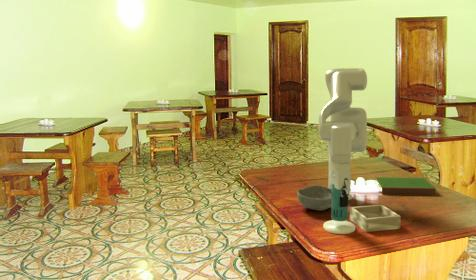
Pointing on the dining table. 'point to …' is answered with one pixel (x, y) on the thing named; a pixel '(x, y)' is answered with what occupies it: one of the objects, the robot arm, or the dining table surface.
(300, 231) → the dining table surface
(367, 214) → the wooden frame
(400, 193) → the hardcover book
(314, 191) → the bowl
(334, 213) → the beverage bottle
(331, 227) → the plate
